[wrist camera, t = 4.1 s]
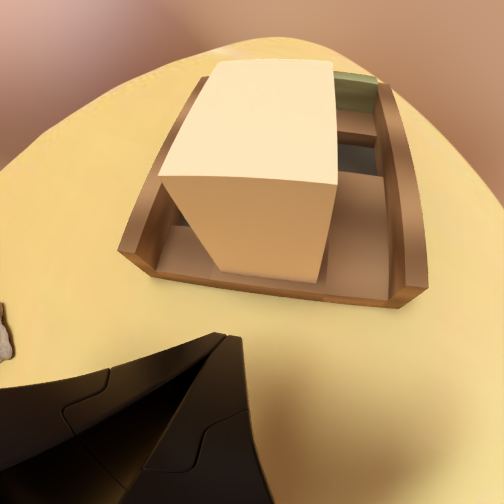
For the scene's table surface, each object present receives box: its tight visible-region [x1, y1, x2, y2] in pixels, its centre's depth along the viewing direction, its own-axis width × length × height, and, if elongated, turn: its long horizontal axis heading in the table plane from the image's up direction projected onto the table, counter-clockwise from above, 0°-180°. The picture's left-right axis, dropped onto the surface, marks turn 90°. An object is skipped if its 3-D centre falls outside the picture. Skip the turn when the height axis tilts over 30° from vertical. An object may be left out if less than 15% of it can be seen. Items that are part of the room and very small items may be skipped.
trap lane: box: [117, 71, 429, 309], centre depth 16 cm, size 16×15×4 cm
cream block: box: [158, 59, 338, 284], centre depth 12 cm, size 7×5×8 cm
